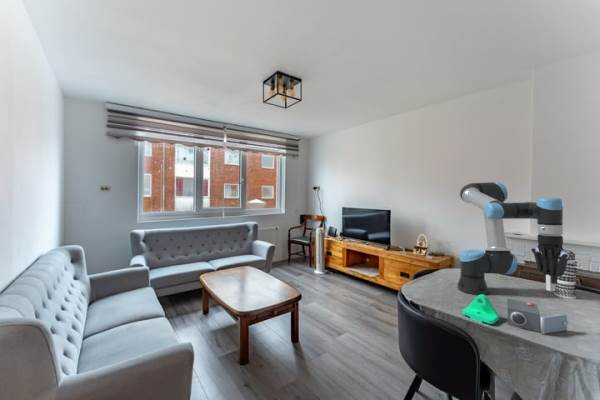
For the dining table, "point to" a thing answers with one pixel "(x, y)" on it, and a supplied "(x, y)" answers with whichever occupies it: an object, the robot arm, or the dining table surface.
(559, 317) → the side door
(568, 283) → the decorative candle
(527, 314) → the housing
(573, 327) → the dining table surface
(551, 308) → the dining table surface
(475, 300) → the camera mount
